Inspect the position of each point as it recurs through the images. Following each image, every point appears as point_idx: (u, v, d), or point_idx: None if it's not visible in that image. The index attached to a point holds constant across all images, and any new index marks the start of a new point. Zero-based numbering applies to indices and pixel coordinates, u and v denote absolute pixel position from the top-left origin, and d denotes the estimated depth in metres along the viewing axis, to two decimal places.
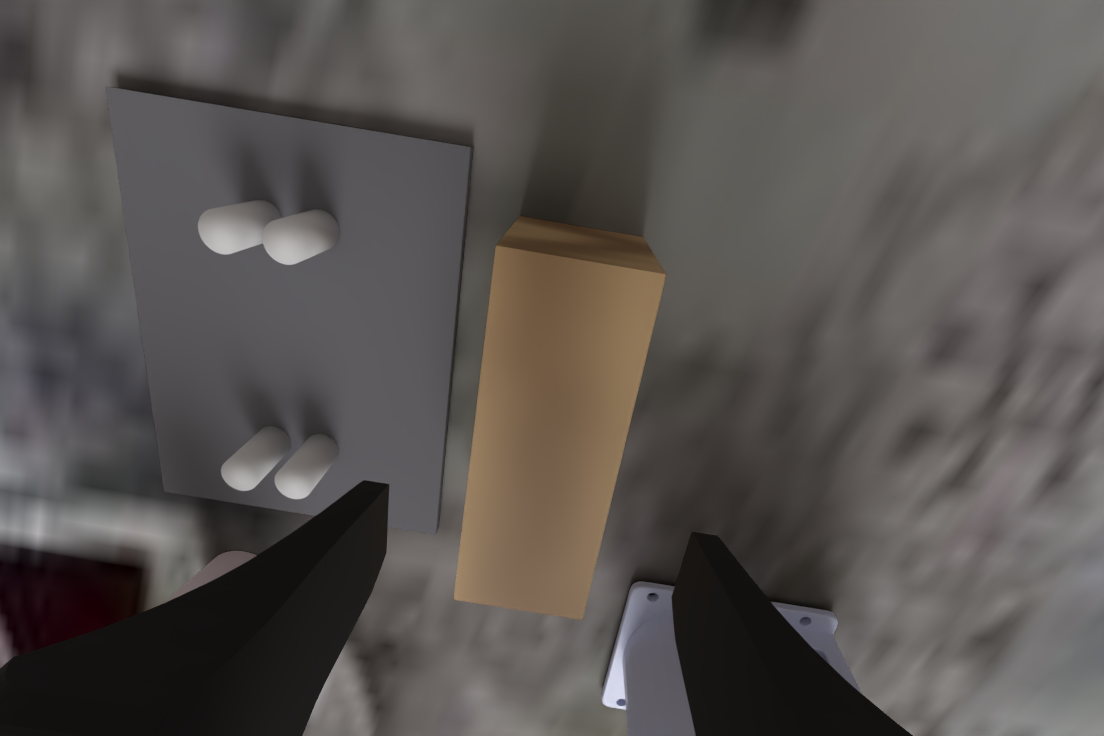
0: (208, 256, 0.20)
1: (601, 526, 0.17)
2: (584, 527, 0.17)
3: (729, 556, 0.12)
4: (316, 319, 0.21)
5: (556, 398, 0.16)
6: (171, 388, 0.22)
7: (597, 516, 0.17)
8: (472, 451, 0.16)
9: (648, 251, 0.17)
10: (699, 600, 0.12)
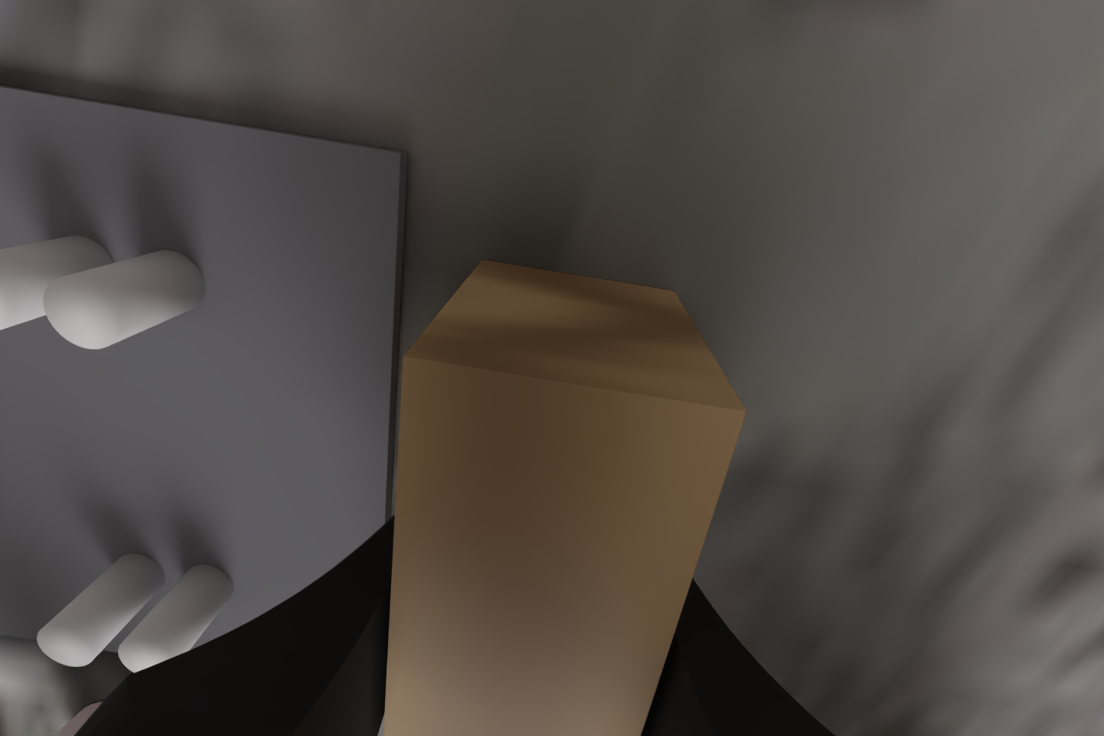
0: None
1: None
2: None
3: None
4: (182, 410, 0.14)
5: (532, 615, 0.09)
6: None
7: None
8: (388, 689, 0.09)
9: (693, 332, 0.10)
10: None
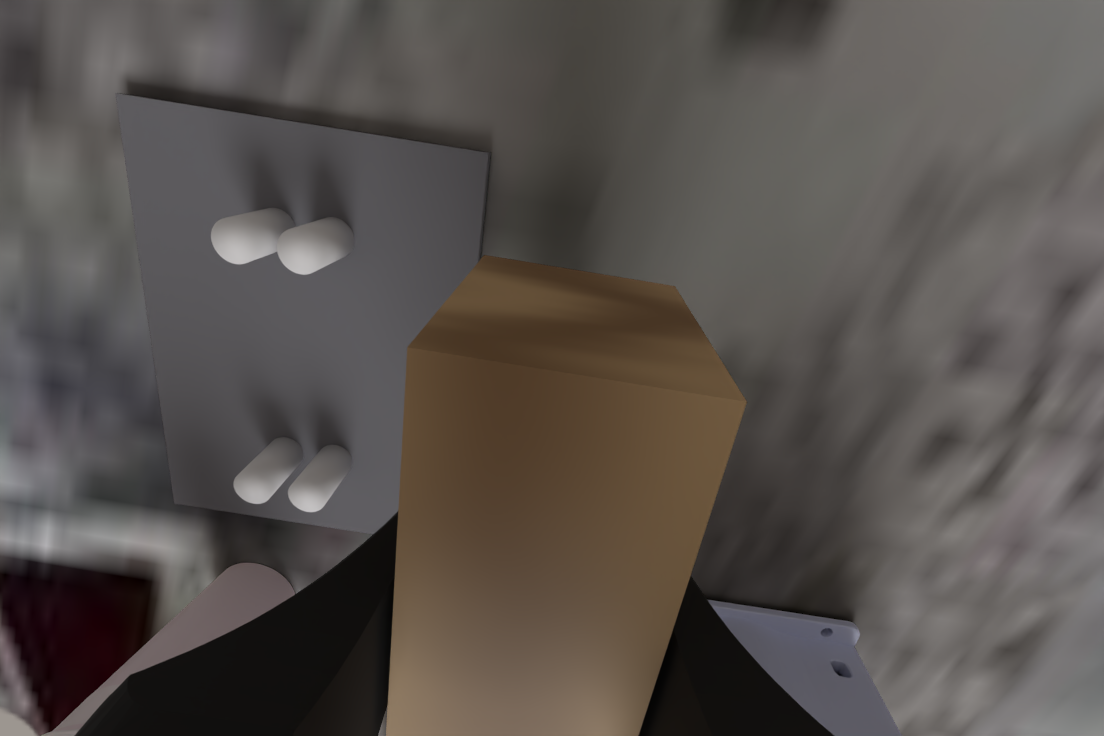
0: (220, 265, 0.20)
1: None
2: None
3: None
4: (330, 328, 0.20)
5: (534, 605, 0.09)
6: (182, 399, 0.22)
7: None
8: (391, 679, 0.09)
9: (693, 326, 0.10)
10: None
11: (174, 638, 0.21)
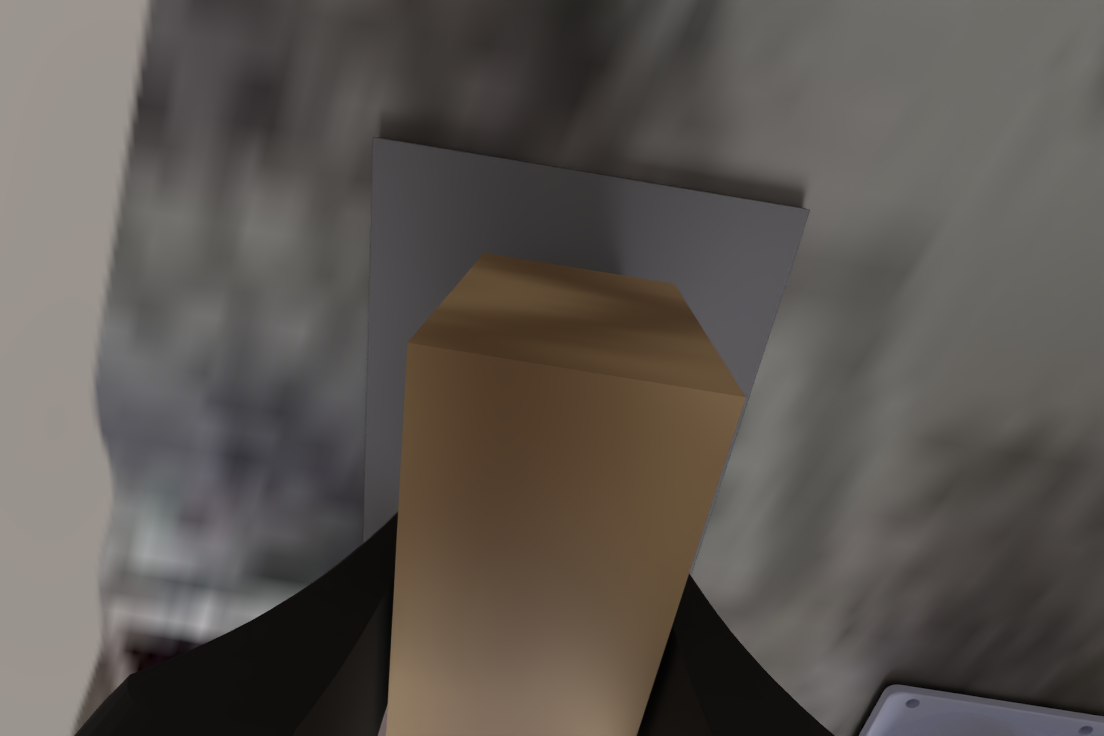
0: None
1: None
2: None
3: None
4: None
5: (534, 600, 0.09)
6: (391, 476, 0.19)
7: None
8: (391, 675, 0.09)
9: (693, 323, 0.10)
10: None
11: None
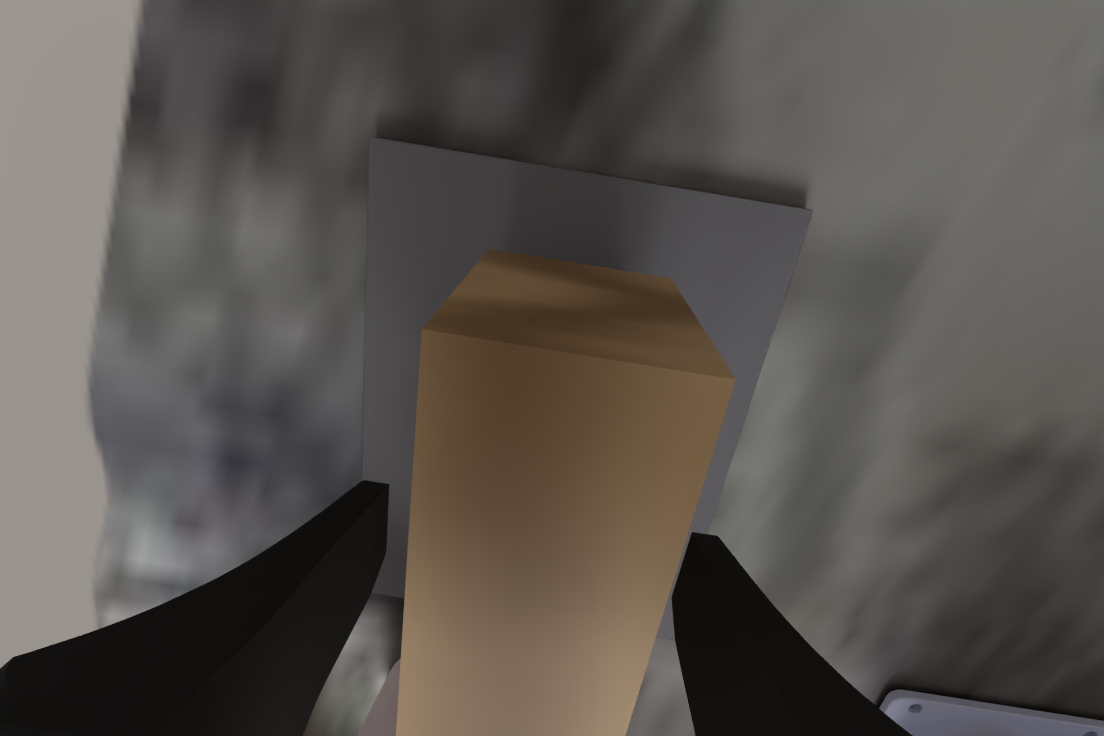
0: None
1: None
2: None
3: (730, 556, 0.12)
4: None
5: (539, 574, 0.09)
6: (389, 480, 0.19)
7: None
8: (403, 646, 0.10)
9: (688, 314, 0.10)
10: (699, 600, 0.12)
11: None
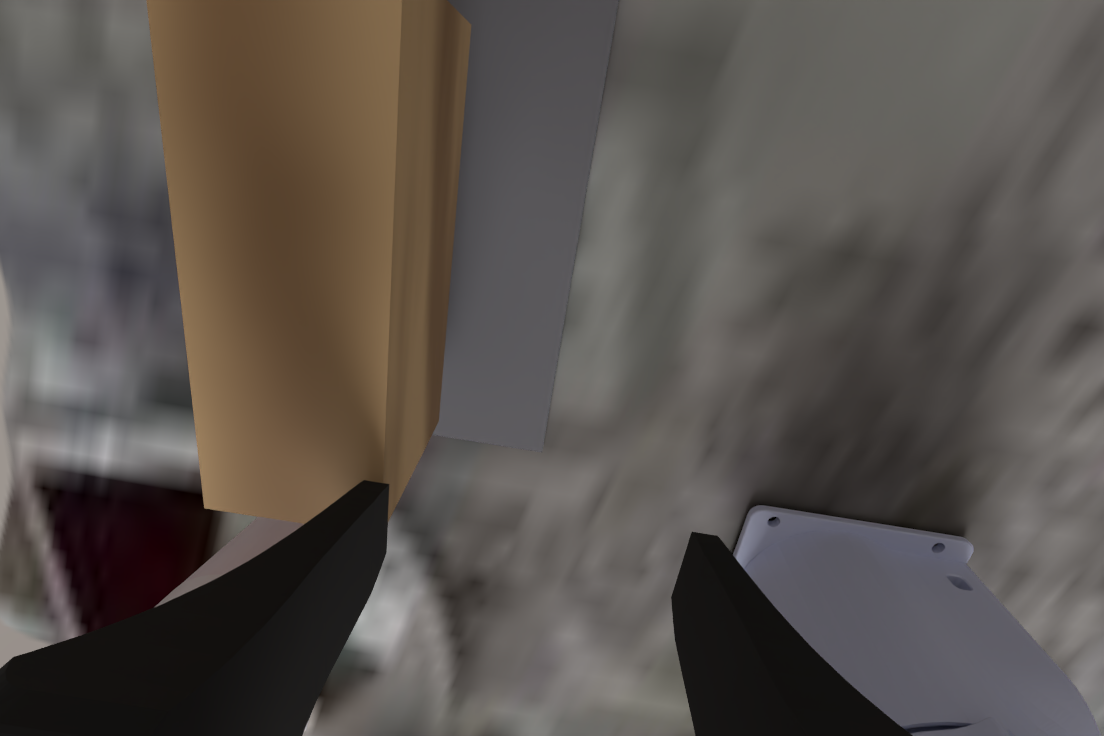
0: None
1: (381, 393, 0.12)
2: (358, 395, 0.12)
3: (730, 556, 0.12)
4: None
5: (280, 185, 0.11)
6: None
7: (373, 377, 0.12)
8: (180, 277, 0.11)
9: None
10: (699, 600, 0.12)
11: (258, 536, 0.19)
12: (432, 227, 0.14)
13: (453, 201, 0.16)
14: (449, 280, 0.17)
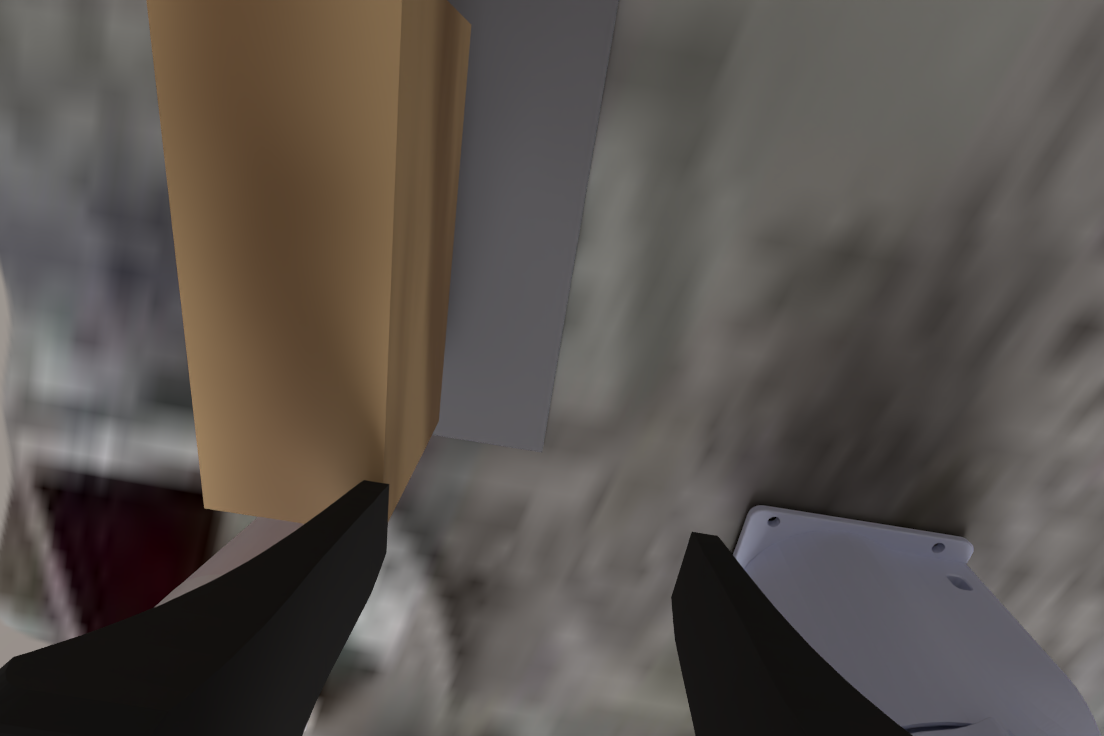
0: None
1: (381, 393, 0.12)
2: (358, 395, 0.12)
3: (730, 556, 0.12)
4: None
5: (280, 185, 0.11)
6: None
7: (373, 377, 0.12)
8: (180, 277, 0.11)
9: None
10: (699, 600, 0.12)
11: (258, 536, 0.19)
12: (432, 227, 0.14)
13: (453, 201, 0.16)
14: (449, 280, 0.17)
